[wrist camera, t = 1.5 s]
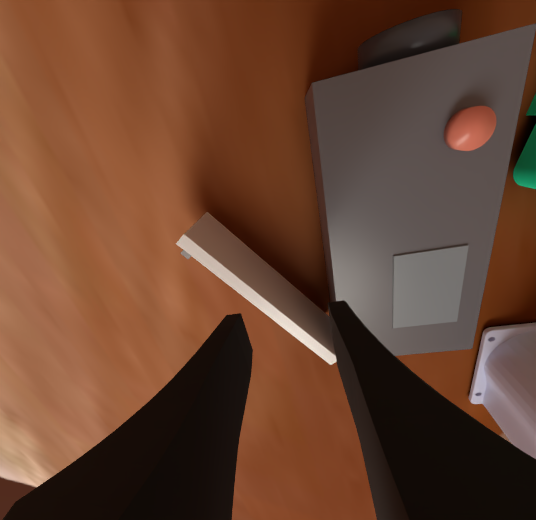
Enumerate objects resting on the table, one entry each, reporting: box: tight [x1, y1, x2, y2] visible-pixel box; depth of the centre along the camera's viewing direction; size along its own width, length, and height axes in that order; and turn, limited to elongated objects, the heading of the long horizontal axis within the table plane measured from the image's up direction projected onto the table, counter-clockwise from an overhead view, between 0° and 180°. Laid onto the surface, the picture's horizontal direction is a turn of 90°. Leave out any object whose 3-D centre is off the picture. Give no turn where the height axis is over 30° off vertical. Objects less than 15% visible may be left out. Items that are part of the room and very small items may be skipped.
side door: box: [176, 212, 337, 365], centre depth 18 cm, size 13×2×4 cm, turn 47°
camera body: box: [305, 9, 536, 356], centre depth 15 cm, size 17×8×5 cm, turn 12°
